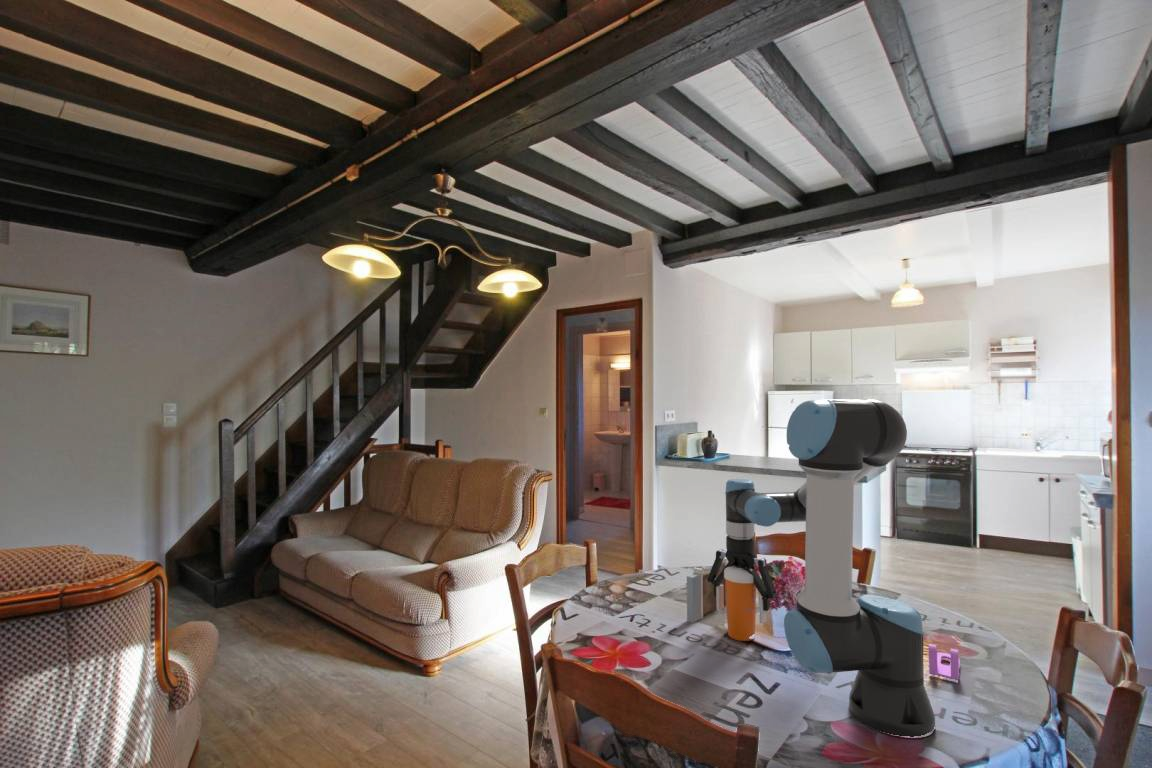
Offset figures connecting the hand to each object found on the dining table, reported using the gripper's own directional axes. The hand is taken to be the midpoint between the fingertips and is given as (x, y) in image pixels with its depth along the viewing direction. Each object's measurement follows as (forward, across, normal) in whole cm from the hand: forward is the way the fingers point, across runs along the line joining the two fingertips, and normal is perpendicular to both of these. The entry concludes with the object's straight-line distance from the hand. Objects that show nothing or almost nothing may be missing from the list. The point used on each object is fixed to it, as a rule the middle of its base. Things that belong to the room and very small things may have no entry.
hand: (741, 615), depth 149 cm
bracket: (+6, -44, -17) cm, 47 cm away
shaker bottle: (+6, 0, 0) cm, 6 cm away
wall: (+5, +15, -10) cm, 19 cm away
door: (+5, +14, -10) cm, 18 cm away
